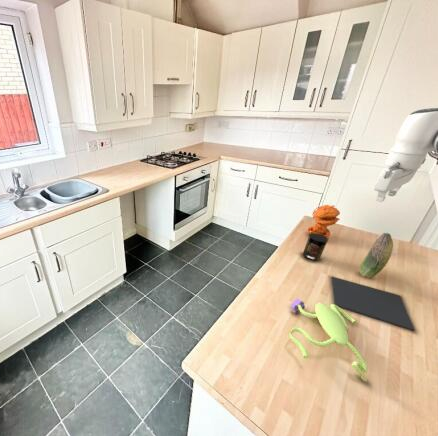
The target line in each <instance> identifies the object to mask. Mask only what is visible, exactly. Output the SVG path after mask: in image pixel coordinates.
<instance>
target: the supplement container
mask: <svg viewBox="0 0 438 436" xmlns="http://www.w3.org/2000/svg"><path fill="white" fill-rule="evenodd" d="M328 241H329V239H328V238H327V237H325V236H323V235H321V234H317V233H309V235H308V237H307V241H306V243H305V246H304V249H303V252H302V256H303V258H304V259H306V260H307V261H310V262H318V261H320V260H321V258H322V256H323V254H324V250H325V248H326V246H327V244H328Z"/></svg>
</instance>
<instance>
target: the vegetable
mask: <svg viewBox="0 0 438 436" xmlns="http://www.w3.org/2000/svg"><path fill="white" fill-rule="evenodd" d="M393 250H394V241H393V238H392V235H391V233H389V232H383V233H382V234H381V235H380V236H379V237H378V238H376V239H375V241H374V243H373V244H372V246H371V247H370V249H369V251H368V252H367V254H366V256H365V258H363V259H364V260H363V261H362V263H361V265H360V267H359V274H360V275H361V276H362V277H364V278H369V279H370V278H373V277H375V276H377V275H378V274H379V273H380V272H381V271H382V270H384V268H385V267H386V265H387V264H388V263H389V261H390V259H391V257H392V254H393Z"/></svg>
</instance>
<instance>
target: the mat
mask: <svg viewBox="0 0 438 436" xmlns="http://www.w3.org/2000/svg"><path fill="white" fill-rule="evenodd" d="M331 283H332V293H333V304H335V305H337V306H338V307H339V308H341V309H343V310H347V311H349V312H353V313H357V314H359V315H363V316H365V317H368V318H371V319H375V320H378V321H381V322H384V323H387V324H390V325H394V326H397V327H399V328H403V329H406V330H409V331H412V332H415V327H414V325H413V322H412V320H411V318H410V315H409V313H408V311H407V308H406V306H405V304H404V301H403V299H402V297H401V295H399V294H396V293H393V292H389V291H385V290H382V289H378V288H375V287H371V286H367V285H364V284H360V283H357V282H353V281H351V280H350V281H349V280H346V279H342V278H339V277H335V276H331Z"/></svg>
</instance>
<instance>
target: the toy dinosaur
mask: <svg viewBox="0 0 438 436" xmlns="http://www.w3.org/2000/svg"><path fill="white" fill-rule="evenodd" d="M340 214H341V212H340V210H339V209H338V208H337V207H336V205H335V204H332V205H330V204H324V205H321V206H318V207H316V208H315V209H314V210H313V211H312V215H311V216H312V219H314V222H315V223H314V225H311V226H308V227H307V231H306V233H309V234H311V233H317V234H321V235H323V236H325V237H327V238H328V240H329V239H330V236H331V231H330V229H329V228H328V227H330V226H333V225H336V224H337V223H338V221H340V220H341V218H339V216H340Z"/></svg>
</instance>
